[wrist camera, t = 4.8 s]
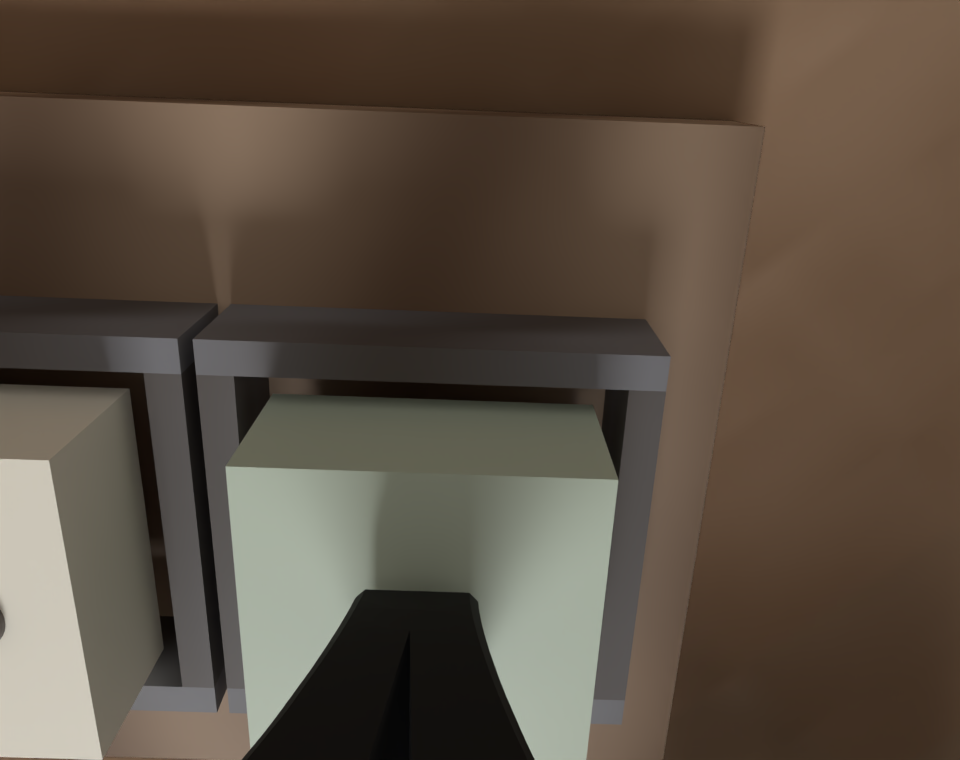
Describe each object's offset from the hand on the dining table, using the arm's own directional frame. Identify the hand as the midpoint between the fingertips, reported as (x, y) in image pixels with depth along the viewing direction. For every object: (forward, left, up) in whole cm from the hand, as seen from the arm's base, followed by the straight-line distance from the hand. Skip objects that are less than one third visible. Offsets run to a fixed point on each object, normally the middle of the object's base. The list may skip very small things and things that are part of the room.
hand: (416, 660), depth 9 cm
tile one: (0, 0, -3) cm, 3 cm away
